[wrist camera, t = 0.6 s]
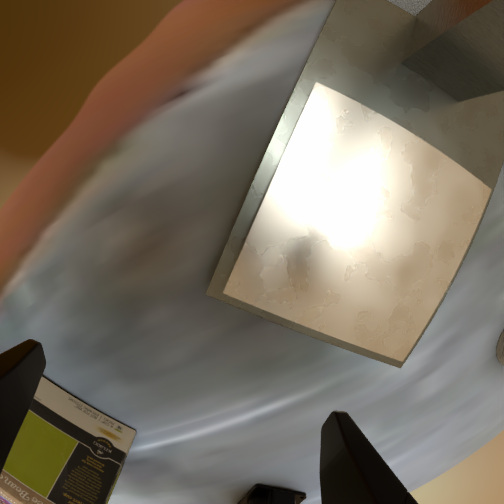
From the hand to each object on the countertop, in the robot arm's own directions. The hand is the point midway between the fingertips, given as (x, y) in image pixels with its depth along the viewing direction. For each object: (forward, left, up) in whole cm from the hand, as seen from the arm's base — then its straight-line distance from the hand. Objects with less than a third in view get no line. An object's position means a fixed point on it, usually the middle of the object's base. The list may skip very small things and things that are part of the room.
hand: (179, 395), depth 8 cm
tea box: (-26, +10, -15) cm, 31 cm away
